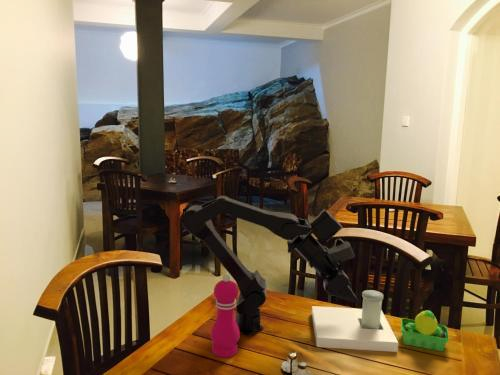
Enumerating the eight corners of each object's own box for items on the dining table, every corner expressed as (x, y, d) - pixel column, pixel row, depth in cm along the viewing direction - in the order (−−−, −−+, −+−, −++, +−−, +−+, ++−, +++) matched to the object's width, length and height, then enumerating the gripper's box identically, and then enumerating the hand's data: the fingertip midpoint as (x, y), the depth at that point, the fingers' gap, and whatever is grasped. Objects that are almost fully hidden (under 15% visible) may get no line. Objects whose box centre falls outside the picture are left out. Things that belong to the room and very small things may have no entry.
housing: (316, 350, 109) (317, 337, 108) (311, 317, 126) (312, 306, 126) (397, 355, 108) (398, 342, 107) (380, 321, 125) (381, 310, 125)
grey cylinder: (355, 331, 117) (358, 293, 115) (366, 325, 120) (369, 288, 118) (372, 339, 113) (376, 300, 111) (384, 333, 116) (387, 294, 114)
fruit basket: (444, 343, 114) (449, 303, 112) (447, 360, 106) (452, 318, 104) (399, 334, 118) (403, 296, 116) (399, 351, 110) (403, 309, 108)
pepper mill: (235, 361, 103) (237, 282, 100) (206, 356, 105) (207, 278, 101) (242, 345, 110) (244, 271, 107) (215, 341, 112) (216, 268, 108)
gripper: (341, 243, 103) (385, 289, 104) (332, 223, 122) (369, 262, 123) (307, 273, 105) (350, 317, 106) (303, 249, 124) (339, 287, 125)
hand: (353, 294), depth 115 cm, fingers open, 9 cm apart
